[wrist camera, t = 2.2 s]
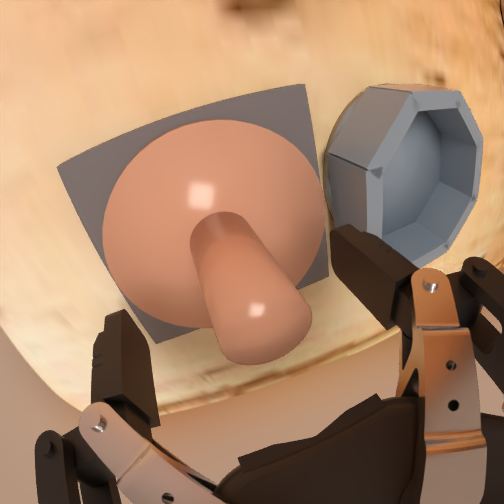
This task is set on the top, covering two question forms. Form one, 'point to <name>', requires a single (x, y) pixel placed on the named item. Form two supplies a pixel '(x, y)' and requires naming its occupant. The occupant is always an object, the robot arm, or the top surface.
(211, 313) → the lid
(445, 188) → the bowl
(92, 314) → the top surface
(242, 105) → the mat
